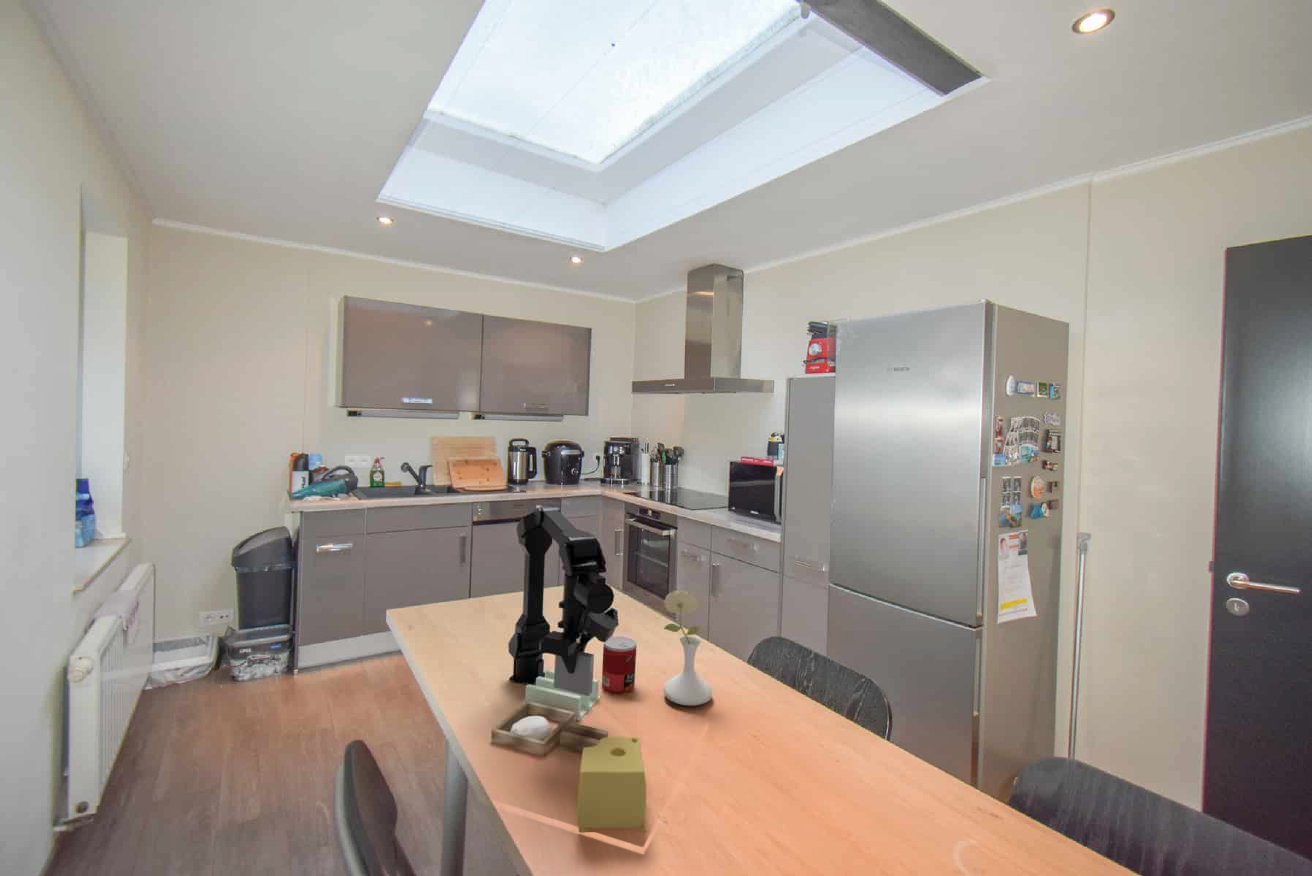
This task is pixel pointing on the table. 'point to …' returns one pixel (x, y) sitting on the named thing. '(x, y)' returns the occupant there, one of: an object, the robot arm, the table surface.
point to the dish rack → (561, 695)
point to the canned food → (619, 665)
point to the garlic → (532, 727)
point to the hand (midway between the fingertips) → (573, 671)
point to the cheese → (612, 785)
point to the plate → (575, 674)
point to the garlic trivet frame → (530, 744)
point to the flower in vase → (686, 656)
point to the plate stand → (580, 738)
